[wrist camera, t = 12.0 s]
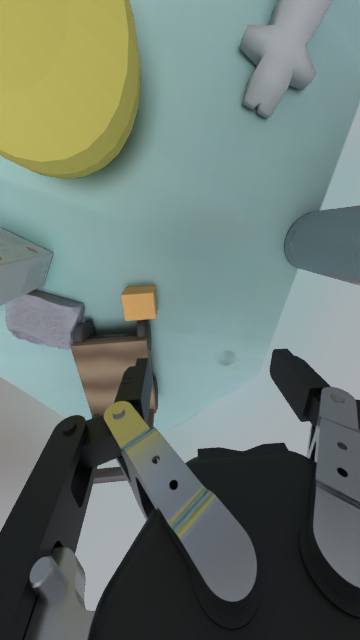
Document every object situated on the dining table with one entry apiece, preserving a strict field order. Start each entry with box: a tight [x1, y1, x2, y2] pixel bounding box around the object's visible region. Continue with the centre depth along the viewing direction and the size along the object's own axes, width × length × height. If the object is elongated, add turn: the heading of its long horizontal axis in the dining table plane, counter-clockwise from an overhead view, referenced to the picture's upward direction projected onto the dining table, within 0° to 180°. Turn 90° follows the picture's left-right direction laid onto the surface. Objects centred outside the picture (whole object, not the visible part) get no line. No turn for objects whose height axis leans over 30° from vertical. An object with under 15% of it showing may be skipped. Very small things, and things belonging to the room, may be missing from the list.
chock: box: [121, 285, 157, 321], centre depth 35 cm, size 5×4×5 cm
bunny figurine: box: [240, 0, 332, 119], centre depth 23 cm, size 10×5×15 cm
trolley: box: [70, 319, 158, 484], centre depth 34 cm, size 20×12×18 cm, turn 3°
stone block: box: [6, 290, 84, 349], centre depth 36 cm, size 12×5×10 cm
